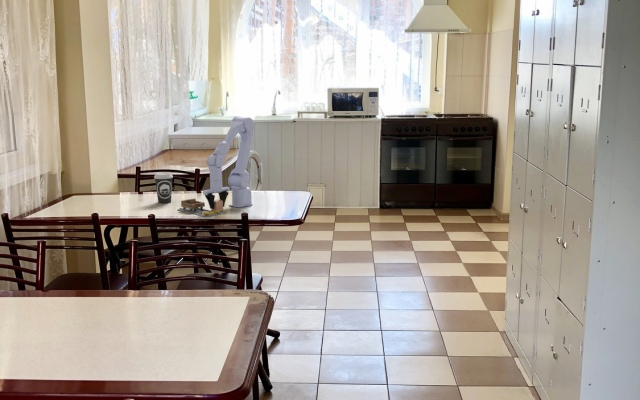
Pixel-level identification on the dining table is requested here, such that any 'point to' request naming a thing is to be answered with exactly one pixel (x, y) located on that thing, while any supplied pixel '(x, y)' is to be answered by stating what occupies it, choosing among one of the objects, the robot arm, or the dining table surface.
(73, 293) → the dining table surface
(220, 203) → the block
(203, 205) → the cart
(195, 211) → the rail
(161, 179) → the coffee cup
